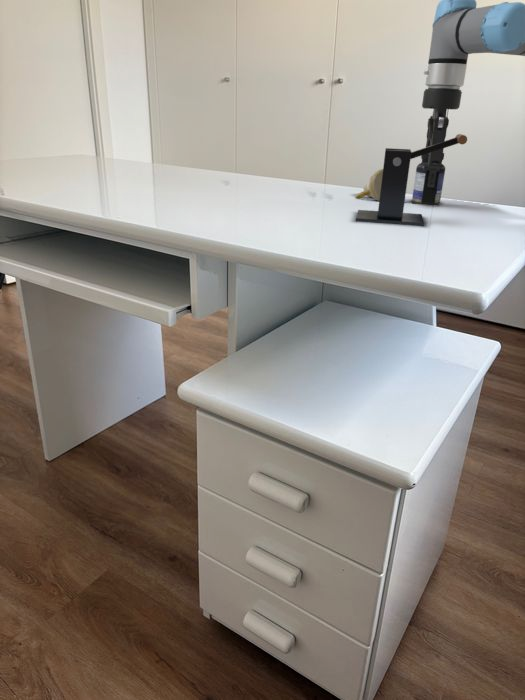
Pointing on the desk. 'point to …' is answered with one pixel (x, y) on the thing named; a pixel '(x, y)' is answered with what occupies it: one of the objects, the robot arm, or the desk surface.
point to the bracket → (393, 192)
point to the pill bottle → (420, 182)
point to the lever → (440, 146)
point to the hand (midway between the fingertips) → (426, 198)
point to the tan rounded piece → (372, 186)
